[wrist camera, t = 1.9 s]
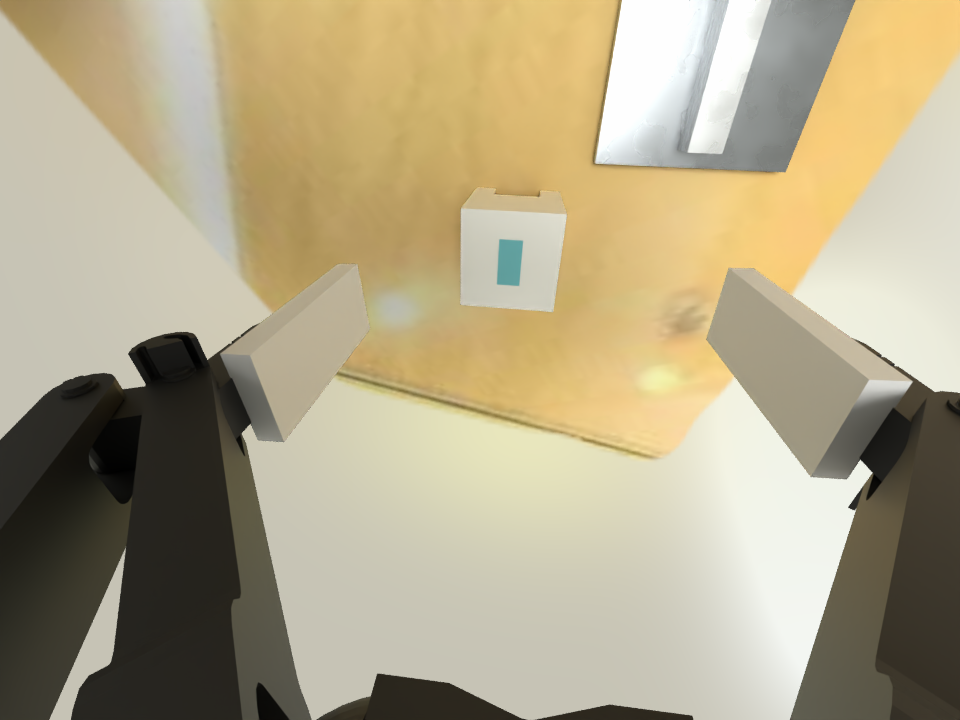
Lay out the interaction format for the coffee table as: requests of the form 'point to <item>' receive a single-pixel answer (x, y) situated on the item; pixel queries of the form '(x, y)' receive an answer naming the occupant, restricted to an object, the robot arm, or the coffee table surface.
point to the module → (511, 249)
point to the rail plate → (672, 69)
